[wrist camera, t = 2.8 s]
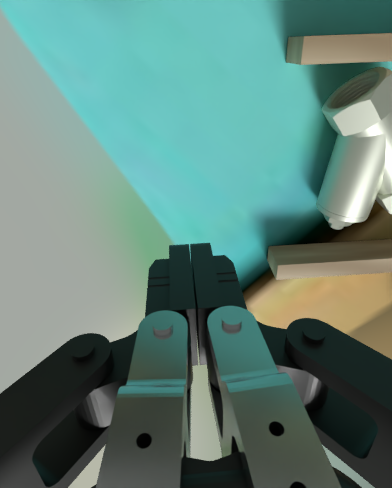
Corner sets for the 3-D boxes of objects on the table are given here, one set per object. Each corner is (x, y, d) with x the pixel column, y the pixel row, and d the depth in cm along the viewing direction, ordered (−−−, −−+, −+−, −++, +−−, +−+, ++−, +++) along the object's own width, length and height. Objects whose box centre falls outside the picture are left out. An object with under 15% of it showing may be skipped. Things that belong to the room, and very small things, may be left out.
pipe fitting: (328, 222, 25) (418, 166, 23) (348, 252, 22) (456, 190, 19) (268, 140, 22) (367, 63, 19) (281, 161, 18) (402, 72, 16)
